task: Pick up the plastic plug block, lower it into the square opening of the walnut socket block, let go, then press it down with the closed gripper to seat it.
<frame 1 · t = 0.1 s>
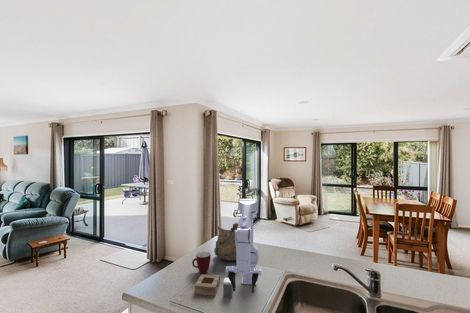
hand: (243, 290, 96), 10 cm above the worktop, fingers open, 7 cm apart
mug: (201, 272, 133), on the worktop
plug: (228, 294, 110), on the worktop
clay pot: (231, 257, 152), on the worktop
socket block: (207, 288, 116), on the worktop
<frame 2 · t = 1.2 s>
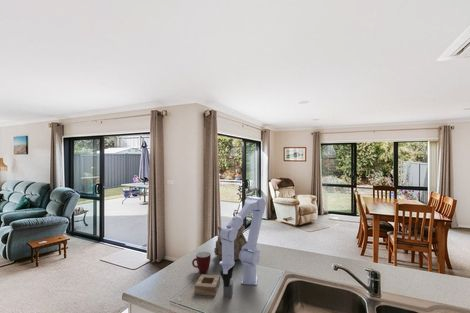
hand: (228, 282, 110), 6 cm above the worktop, fingers open, 7 cm apart
nothing on the worktop moved.
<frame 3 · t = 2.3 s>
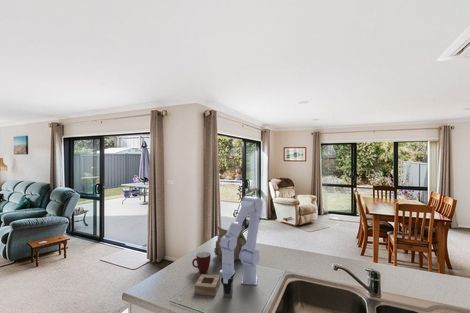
hand: (228, 290, 110), 2 cm above the worktop, fingers closed on plug, 4 cm apart
plug: (228, 294, 110), on the worktop, touching gripper
everything else where it was.
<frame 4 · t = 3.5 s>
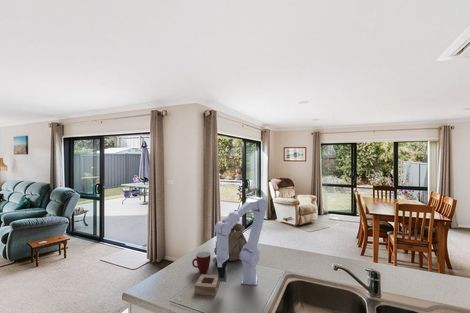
hand: (222, 275, 112), 8 cm above the worktop, fingers closed on plug, 4 cm apart
plug: (222, 279, 112), point 6 cm above the worktop, touching gripper
everything else where it was.
when the fingers open (5 cm above the worktop, at t = 5.2 s): plug drops 3 cm, resting in socket block.
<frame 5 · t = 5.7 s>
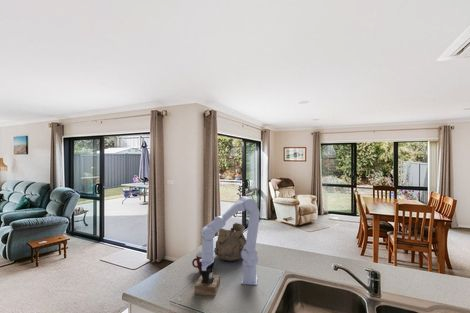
hand: (207, 278, 116), 5 cm above the worktop, fingers open, 7 cm apart
plug: (208, 288, 116), resting in socket block
everything else where it was.
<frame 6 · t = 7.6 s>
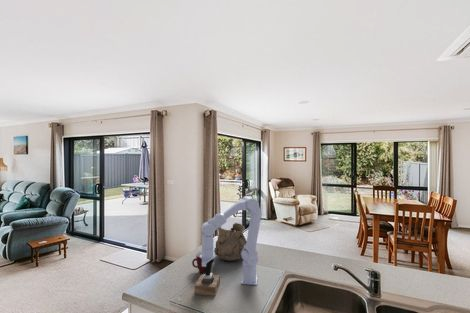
hand: (207, 274, 116), 7 cm above the worktop, fingers closed, pressing on plug
plug: (208, 288, 116), resting in socket block, touching gripper
everything else where it was.
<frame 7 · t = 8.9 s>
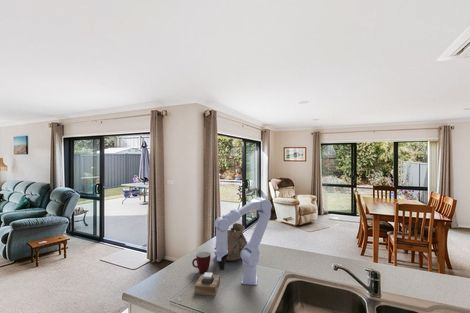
hand: (221, 269, 116), 9 cm above the worktop, fingers closed
plug: (208, 288, 116), resting in socket block
everything else where it was.
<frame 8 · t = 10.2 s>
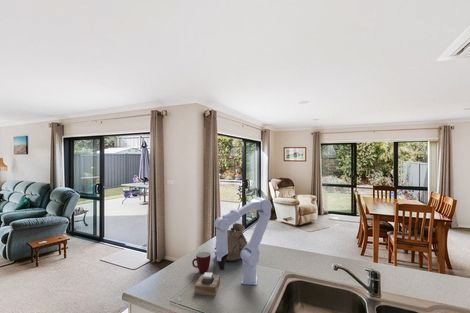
hand: (221, 269, 116), 9 cm above the worktop, fingers closed
nothing on the worktop moved.
at the end: plug 0.1 cm off-centre on the socket block, point 0.0 cm above the socket block's base; plug tilted 0°; the gripper is holding nothing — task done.
